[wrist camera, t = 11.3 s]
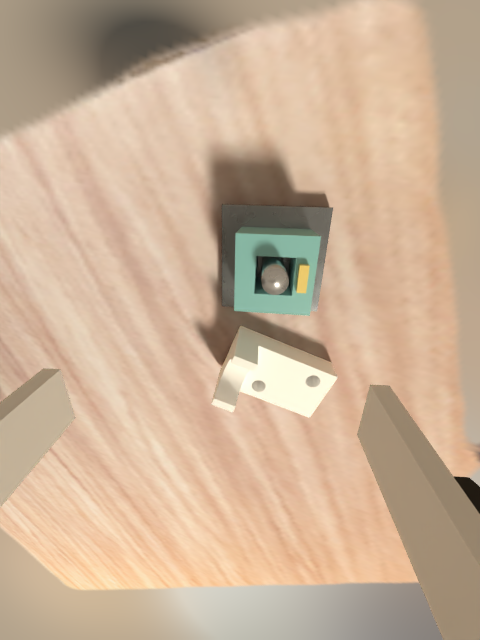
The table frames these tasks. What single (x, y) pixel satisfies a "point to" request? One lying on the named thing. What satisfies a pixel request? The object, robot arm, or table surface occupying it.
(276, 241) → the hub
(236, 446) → the table surface
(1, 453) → the robot arm
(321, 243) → the shaft base
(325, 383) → the bracket
